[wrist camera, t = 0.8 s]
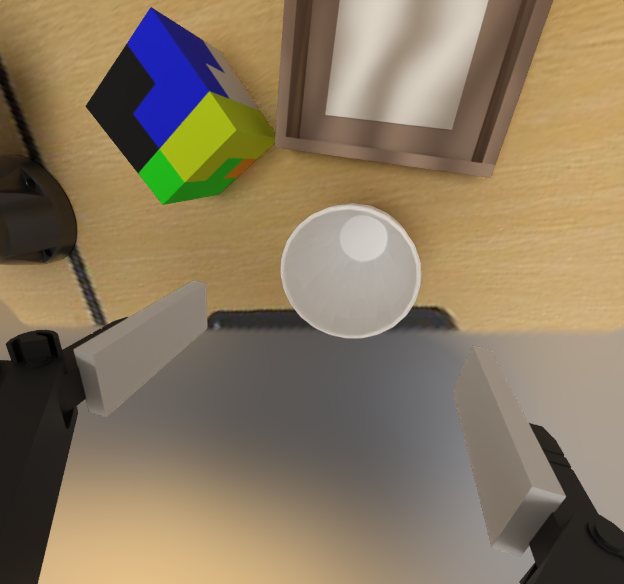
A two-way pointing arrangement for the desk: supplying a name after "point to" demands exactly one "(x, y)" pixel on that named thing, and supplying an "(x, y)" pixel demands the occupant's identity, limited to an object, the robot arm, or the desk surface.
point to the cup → (351, 271)
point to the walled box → (405, 79)
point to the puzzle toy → (179, 112)
